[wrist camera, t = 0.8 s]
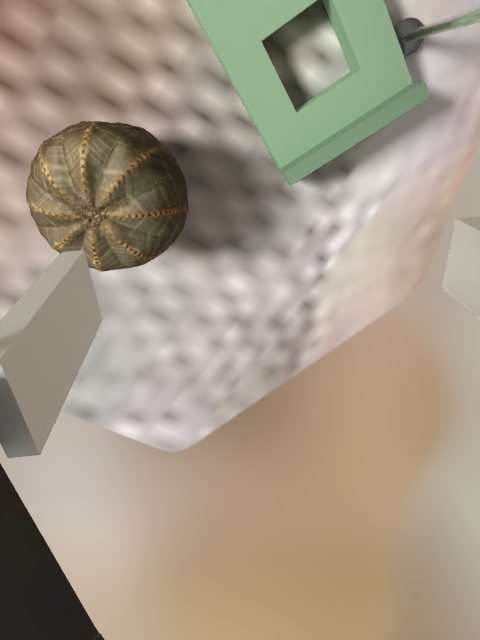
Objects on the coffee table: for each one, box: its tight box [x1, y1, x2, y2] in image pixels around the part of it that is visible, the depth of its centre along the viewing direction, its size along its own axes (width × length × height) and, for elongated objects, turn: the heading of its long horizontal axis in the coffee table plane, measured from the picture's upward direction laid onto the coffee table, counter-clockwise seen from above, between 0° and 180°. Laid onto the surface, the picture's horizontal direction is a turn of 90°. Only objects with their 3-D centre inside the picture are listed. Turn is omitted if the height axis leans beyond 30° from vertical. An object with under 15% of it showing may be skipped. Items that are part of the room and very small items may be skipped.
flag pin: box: [394, 8, 480, 55], centre depth 25 cm, size 6×2×19 cm, turn 32°
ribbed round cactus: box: [26, 121, 188, 271], centre depth 32 cm, size 11×11×12 cm
